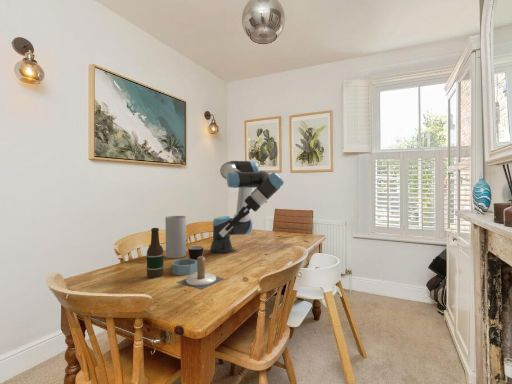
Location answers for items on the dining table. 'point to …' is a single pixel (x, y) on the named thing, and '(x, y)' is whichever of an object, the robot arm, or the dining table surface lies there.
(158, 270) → the beer bottle
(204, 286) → the mat
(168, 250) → the cylinder vase
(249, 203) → the robot arm
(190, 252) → the coffee mug
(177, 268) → the bowl
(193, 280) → the lid
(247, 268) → the dining table surface
